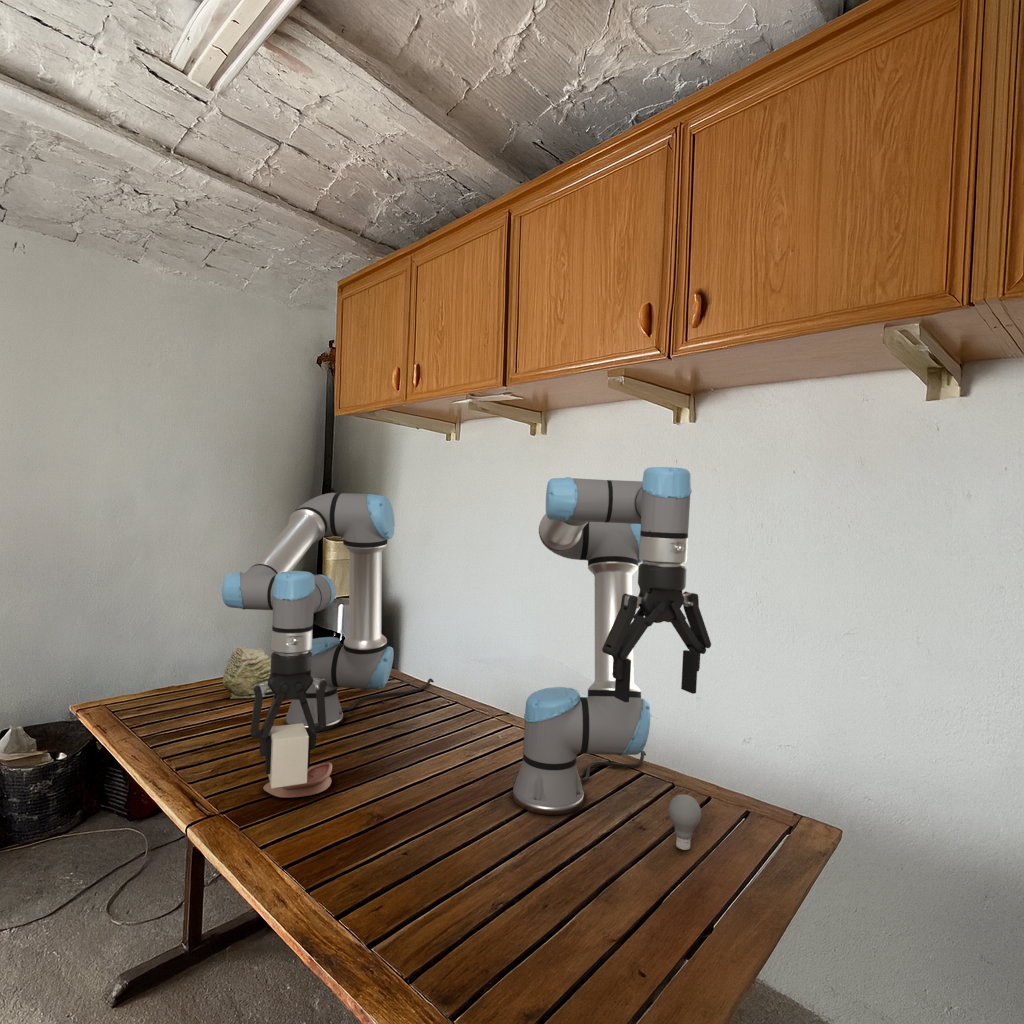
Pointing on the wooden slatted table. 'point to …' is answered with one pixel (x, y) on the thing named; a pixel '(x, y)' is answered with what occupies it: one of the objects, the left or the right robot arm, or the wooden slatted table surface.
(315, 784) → the anatomical model
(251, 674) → the fossil
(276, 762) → the block
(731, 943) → the wooden slatted table surface
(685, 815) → the light bulb
